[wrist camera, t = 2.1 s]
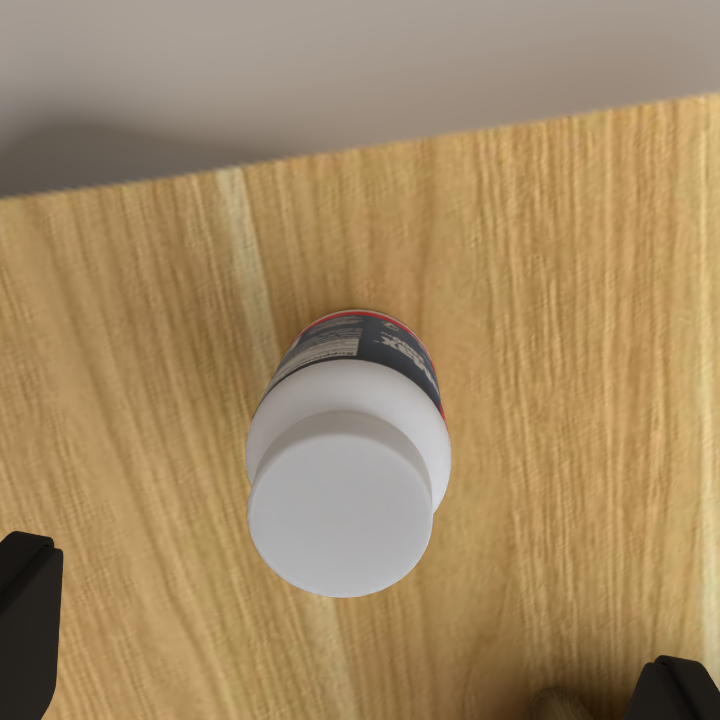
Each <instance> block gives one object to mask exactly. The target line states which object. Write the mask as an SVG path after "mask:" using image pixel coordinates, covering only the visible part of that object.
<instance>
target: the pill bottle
mask: <svg viewBox="0 0 720 720" xmlns="http://www.w3.org/2000/svg"><path fill="white" fill-rule="evenodd" d="M246 468H247V474H248V478H249V481H250V484H251V491H250V494H249V499H248V508H247V519H248V526H249V531H250V534H251V537H252V540H253V542H254V545H255V547H256V549H257V551H258V553H259V554H260V556H261V557H262V558H263V560H264V561H265V562H266V564H267V565H268V566H269V567H270V568H271V569H272V570H273V571H274V572H275V573H276V574H278V575H279V576H280V577H281V578H283V579H284V580H285V581H287V582H288V583H290V584H292V585H294V586H296V587H298V588H300V589H302V590H305V591H307V592H310V593H313V594H317V595H322V596H327V597H337V598H347V597H359V596H364V595H368V594H371V593H374V592H378V591H381V590H383V589H385V588H387V587H388V586H390V585H392V584H394V583H396V582H397V581H399V580H400V579H402V578H403V577H404V576H405V575H406V574H407V573H408V572H409V571H410V570H411V569H412V568H413V567H414V566H415V565H416V564H417V562H418V561H419V560H420V558H421V557H422V555H423V553H424V552H425V550H426V547H427V545H428V542H429V539H430V536H431V531H432V525H433V514H434V512H435V511H436V510H437V508H438V506H439V505H440V503H441V501H442V499H443V497H444V494H445V492H446V489H447V486H448V482H449V478H450V472H451V446H450V439H449V434H448V429H447V424H446V420H445V416H444V412H443V407H442V402H441V398H440V394H439V388H438V382H437V377H436V373H435V369H434V366H433V363H432V360H431V357H430V355H429V353H428V351H427V349H426V347H425V346H424V344H423V343H422V342H421V340H420V339H419V338H418V337H417V335H416V334H415V333H414V332H413V331H412V330H411V329H409V328H408V327H407V326H406V325H404V324H403V323H401V322H400V321H398V320H396V319H394V318H392V317H390V316H388V315H386V314H383V313H379V312H375V311H370V310H360V309H354V310H344V311H339V312H335V313H332V314H329V315H326V316H324V317H322V318H320V319H318V320H316V321H314V322H313V323H311V324H310V325H309V326H307V327H306V328H305V329H304V330H303V331H302V332H301V333H300V334H299V335H298V336H297V337H296V338H295V339H294V341H293V342H292V344H291V345H290V347H289V348H288V350H287V352H286V353H285V355H284V357H283V359H282V361H281V363H280V365H279V367H278V369H277V370H276V372H275V374H274V376H273V378H272V380H271V382H270V383H269V385H268V387H267V390H266V392H265V393H264V395H263V398H262V400H261V402H260V404H259V406H258V408H257V409H256V411H255V413H254V415H253V419H252V422H251V425H250V429H249V432H248V437H247V443H246Z"/></svg>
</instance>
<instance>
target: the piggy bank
mask: <svg viewBox="0 0 720 720" xmlns="http://www.w3.org/2000/svg"><path fill="white" fill-rule="evenodd" d="M532 714H533V720H594V719H593V717H592V716H591V715H590V714H589V712H588V711H587V710H586V709H585V707H584V706H583V705H582V704H581V702H580V701H579V700H578V699H577V698H576V697H575V696H574V695H573V694H571V693H570V692H568V691H567V690H565V689H560V688H550V689H546V690H544V691H543V692H541V693H540V694H539V695H538V696H537V697H536V699H535V701H534V704H533V707H532Z"/></svg>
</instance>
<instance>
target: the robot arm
mask: <svg viewBox="0 0 720 720" xmlns="http://www.w3.org/2000/svg"><path fill="white" fill-rule="evenodd" d="M62 573H63V552H62V550H61V549H57V548H54V542H53V539H52V538H50V537H46V536H41V535H36V534H30V533H25V532H20V531H13V532H11V533H10V534H9V535H7V536H6V537H5V538H4V539H3V540H2V541H1V542H0V720H41V718H42V717H43V715H44V713H45V712H46V710H47V708H48V707H49V705H50V702H51V700H52V697H53V694H54V691H55V687H56V678H57V660H58V643H59V625H60V608H61V590H62ZM623 720H720V692H719V690H718V688H717V687H716V685H715V683H714V682H713V680H712V678H711V677H710V675H709V673H708V672H707V670H706V669H705V667H704V666H703V665H702V664H701V663H699V662H697V661H692V660H687V659H682V658H677V657H671V656H666V655H661V656H659V657H658V658H656V660H655V662H654V663H651V662H650V663H647V664H646V665H645V666H644V668H643V670H642V672H641V675H640V677H639V680H638V682H637V685H636V687H635V690H634V693H633V695H632V698H631V700H630V703H629V705H628V708H627V710H626V713H625V715H624V718H623Z"/></svg>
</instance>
